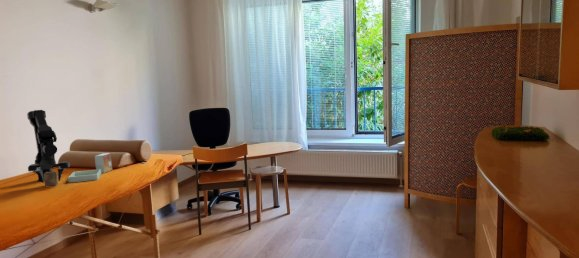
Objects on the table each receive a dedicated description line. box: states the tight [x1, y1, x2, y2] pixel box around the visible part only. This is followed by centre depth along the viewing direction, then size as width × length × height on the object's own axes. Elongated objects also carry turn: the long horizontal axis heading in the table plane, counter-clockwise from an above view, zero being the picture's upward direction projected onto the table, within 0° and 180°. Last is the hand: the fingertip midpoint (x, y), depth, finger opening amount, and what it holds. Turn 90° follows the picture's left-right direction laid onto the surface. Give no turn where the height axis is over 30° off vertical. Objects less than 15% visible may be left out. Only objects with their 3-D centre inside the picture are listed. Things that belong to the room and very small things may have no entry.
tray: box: [67, 169, 102, 184], centre depth 239 cm, size 14×14×3 cm
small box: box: [94, 152, 113, 174], centre depth 255 cm, size 8×6×10 cm
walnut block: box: [44, 170, 59, 187], centre depth 226 cm, size 5×5×7 cm
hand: (51, 182), depth 226 cm, fingers open, 7 cm apart
